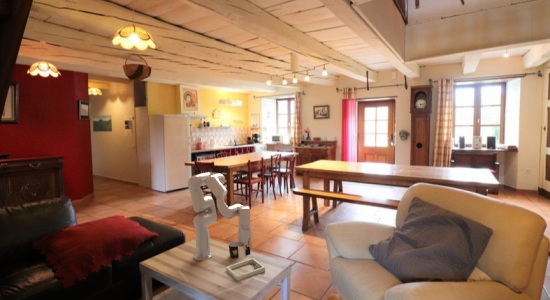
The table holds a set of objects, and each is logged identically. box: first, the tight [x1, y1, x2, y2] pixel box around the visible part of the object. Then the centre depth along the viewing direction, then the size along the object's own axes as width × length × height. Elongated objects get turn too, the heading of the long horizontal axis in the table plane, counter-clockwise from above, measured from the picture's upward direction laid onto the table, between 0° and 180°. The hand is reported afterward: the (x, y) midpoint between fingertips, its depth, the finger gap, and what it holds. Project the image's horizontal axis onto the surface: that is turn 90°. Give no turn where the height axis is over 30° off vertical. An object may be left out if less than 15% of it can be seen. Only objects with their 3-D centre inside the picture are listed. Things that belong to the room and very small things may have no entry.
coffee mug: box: [228, 240, 239, 259], centre depth 200 cm, size 12×9×10 cm
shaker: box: [238, 241, 248, 260], centre depth 179 cm, size 5×5×9 cm
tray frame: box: [225, 257, 266, 282], centre depth 182 cm, size 15×20×3 cm
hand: (245, 253), depth 180 cm, fingers closed on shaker, 4 cm apart
